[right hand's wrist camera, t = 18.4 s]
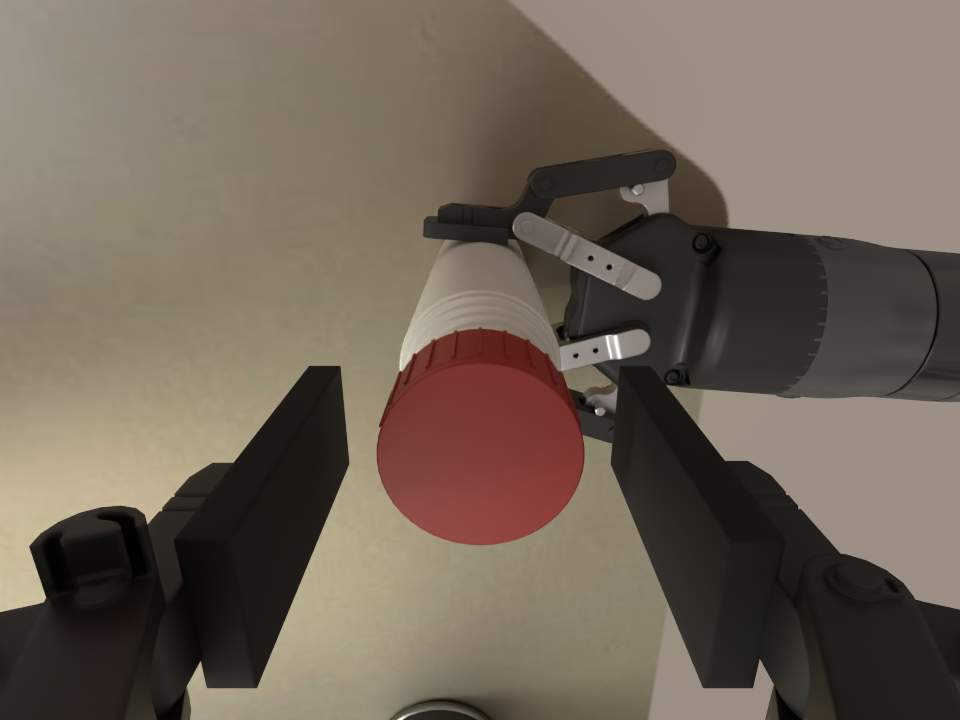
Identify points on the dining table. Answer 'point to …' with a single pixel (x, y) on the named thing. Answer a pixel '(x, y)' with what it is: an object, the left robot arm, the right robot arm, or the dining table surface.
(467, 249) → the bottle
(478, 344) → the cap
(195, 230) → the dining table surface
